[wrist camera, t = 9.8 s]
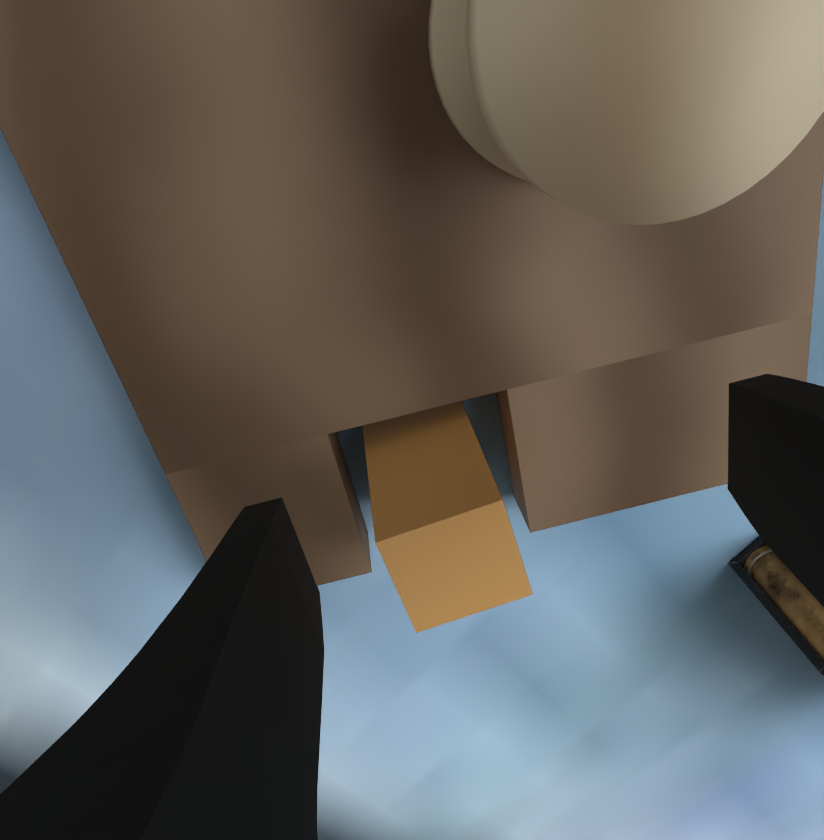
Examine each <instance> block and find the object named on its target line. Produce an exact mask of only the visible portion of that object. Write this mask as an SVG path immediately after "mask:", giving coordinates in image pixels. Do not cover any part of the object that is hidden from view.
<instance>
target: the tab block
mask: <svg viewBox="0 0 824 840" xmlns="http://www.w3.org/2000/svg"><path fill="white" fill-rule="evenodd" d="M363 435H364V444H365V453H366V462H367V471H368V480H369V489H370V498H371V507H372V516H373V525H374V534H375V543H376V545H377V547H378V549H379V552H380V554H381V556H382V558H383V560H384V563H385V565H386V567H387V569H388V571H389V574H390V576H391V578H392V580H393V582H394V585H395V587H396V589H397V591H398V593H399V596H400V598H401V600H402V602H403V604H404V607H405V609H406V611H407V613H408V615H409V618H410V620H411V622H412V624H413V626H414V629H415V631H416V633H417V632H420V631H423V630H426V629H429V628H432V627H435V626H438V625H441V624H444V623H447V622H450V621H453V620H457V619H460V618H463V617H466V616H469V615H472V614H475V613H478V612H481V611H484V610H487V609H490V608H493V607H496V606H499V605H502V604H505V603H508V602H511V601H514V600H517V599H520V598H523V597H526V596H529V595H532V594H533V593H532V590H531V587H530V584H529V581H528V578H527V575H526V571H525V568H524V565H523V562H522V559H521V556H520V553H519V549H518V546H517V543H516V540H515V537H514V534H513V531H512V527H511V524H510V521H509V518H508V515H507V512H506V509H505V506H504V502H503V499H502V497H501V495H500V492H499V490H498V487H497V485H496V483H495V480H494V478H493V475H492V473H491V471H490V468H489V466H488V463H487V461H486V459H485V456H484V454H483V451H482V449H481V447H480V444H479V442H478V439H477V437H476V435H475V432H474V430H473V428H472V425H471V423H470V420H469V418H468V416H467V413H466V411H465V408H464V406H463V404H462V401H459V402H455V403H451V404H447V405H443V406H439V407H435V408H431V409H427V410H423V411H419V412H415V413H411V414H407V415H403V416H399V417H395V418H391V419H387V420H383V421H379V422H375V423H371V424H367V425H363Z"/></svg>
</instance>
